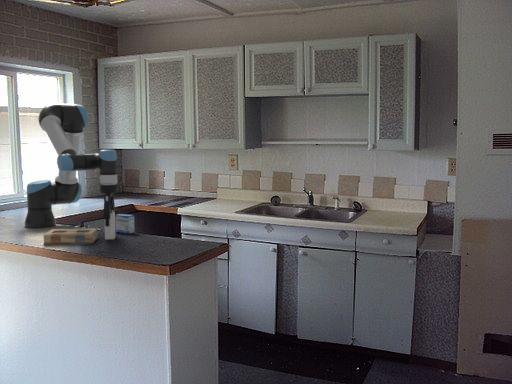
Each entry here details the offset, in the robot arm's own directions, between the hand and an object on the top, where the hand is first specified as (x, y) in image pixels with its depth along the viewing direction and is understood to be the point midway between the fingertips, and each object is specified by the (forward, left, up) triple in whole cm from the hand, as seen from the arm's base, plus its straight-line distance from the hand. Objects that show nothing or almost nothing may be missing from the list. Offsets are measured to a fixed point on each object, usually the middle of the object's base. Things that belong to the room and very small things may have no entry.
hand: (110, 230), depth 241 cm
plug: (0, 0, -4) cm, 4 cm away
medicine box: (-15, +5, -4) cm, 16 cm away
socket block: (+5, -16, -4) cm, 17 cm away
